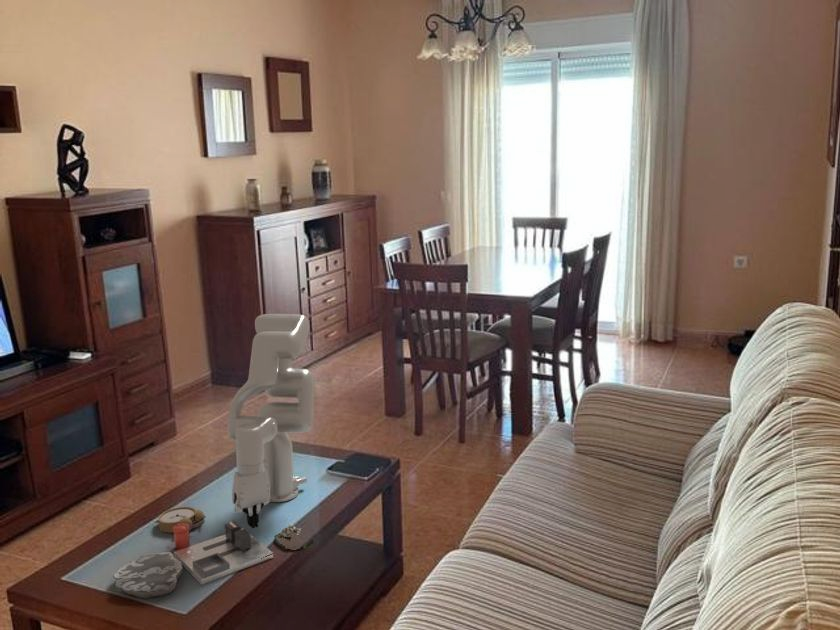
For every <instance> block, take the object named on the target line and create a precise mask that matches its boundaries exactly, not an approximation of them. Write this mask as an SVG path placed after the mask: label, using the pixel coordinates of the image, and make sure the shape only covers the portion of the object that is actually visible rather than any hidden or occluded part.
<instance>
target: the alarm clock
mask: <svg viewBox="0 0 840 630" xmlns="http://www.w3.org/2000/svg"><path fill="white" fill-rule="evenodd" d="M206 517H207V516H205V513H204V511H203V510H202V509H196V508H195V507H192V506H177V507H173V508H171V509H167V510H165V511H163V512H162V513H160V514H159V516H158V517H157V520H155V521H154V523H156V524H157V523H158V527H159V530H160V532H164V533H174V532H173V527H174V526H175V525H177V524H182V523H185V524H188V525H189V527H190V529H189V532H191V531H192V529H195V528H199V527H200V526H202V525H204V524H205V521H206V520H205V518H206Z"/></svg>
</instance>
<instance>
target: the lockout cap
mask: <svg viewBox="0 0 840 630" xmlns="http://www.w3.org/2000/svg"><path fill="white" fill-rule="evenodd" d="M189 529H190V527H189V525H188V524H185V523H182V524H177V525H175V526H174V527H173V532H172V533H173V537H174V549H175V550H176V551H178V550H181V549H184V548H187V547H190V546H191V545H190V544H191V542H190V531H189Z"/></svg>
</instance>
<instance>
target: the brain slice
mask: <svg viewBox="0 0 840 630" xmlns="http://www.w3.org/2000/svg"><path fill="white" fill-rule="evenodd" d="M182 573H183V565H182V564H181V561H179V560H177V559H176V558H175V557H174V553H172V552H171V551H162V552H161V551H160V552H155V553H154V552H153V553H149V554H145V555H141V556H139V557H138V558H135V559H133V560H131V561H129V562H128V563H126V564H124V565H123V566H122V567H120V568H118V569H117V570H116V572H114V574H113V575H112V577H113V578H114V579H115V580H116V581H115V582H114V583H115V584H114V587H115V588H116V589H117V590H118V591H121V592H124V593H127V594H128V595H130V596H135V597H137V598H143V599H144V598H148V599H149V598H153V597H156V596H157V597H162V596H165V595H167V594H171V592H173V591H174V590H175V589H176V586H177V582H178V581H179V578H180V576H182Z"/></svg>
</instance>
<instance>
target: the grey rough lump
mask: <svg viewBox="0 0 840 630" xmlns="http://www.w3.org/2000/svg"><path fill="white" fill-rule="evenodd" d="M301 529H302V528H296V526H293V525H292V524H290V525H288V526H287V527H284V528H283V529H282V530H281V532H279V533H277V534H275V535H274V536H273V537H274V539H273V540H274V542H275V544H277V546H279V547H281V548H282V549H284V550H287V549H285V546H283V545H282V544H280V543H281V542H280V541H281V538H282V537H283V538H285V539H287V540H289V541H290V539H291V537H284V536H288V535H299V533H300V532H301ZM315 540H316V538H314V539H313V540H311V541H309V542H308V543H307V544H305V545H303V546H302V547H301V548H300V549H299V550H304V549H306V548H308V547H310V546H312V545H313V544H315ZM279 542H280V543H279ZM299 550H298V551H299ZM287 551H288V550H287Z"/></svg>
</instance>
